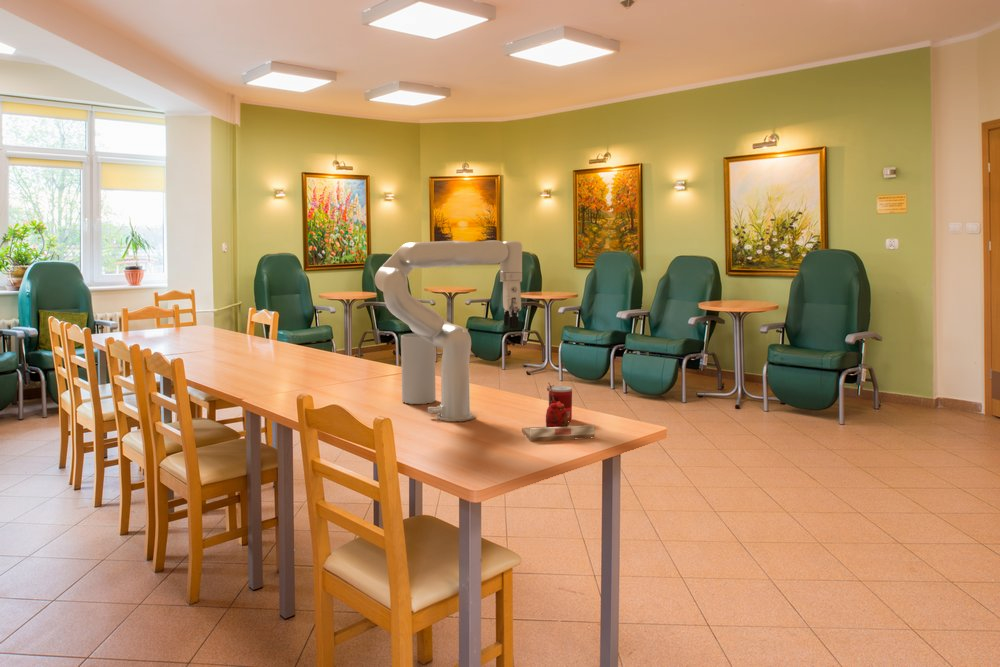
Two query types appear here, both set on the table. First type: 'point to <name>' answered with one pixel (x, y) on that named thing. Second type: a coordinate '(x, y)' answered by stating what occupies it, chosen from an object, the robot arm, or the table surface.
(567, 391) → the canned food
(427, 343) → the cylinder vase
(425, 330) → the robot arm
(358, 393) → the table surface
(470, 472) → the table surface
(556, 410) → the red clay folk toy
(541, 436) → the shelf board
